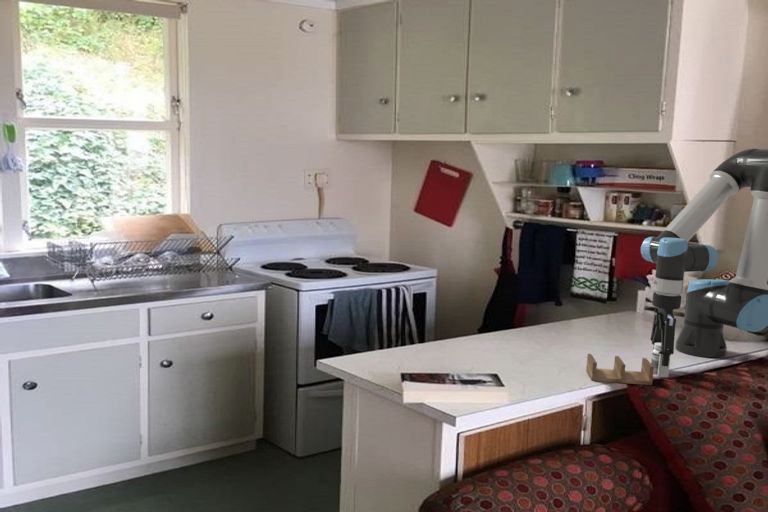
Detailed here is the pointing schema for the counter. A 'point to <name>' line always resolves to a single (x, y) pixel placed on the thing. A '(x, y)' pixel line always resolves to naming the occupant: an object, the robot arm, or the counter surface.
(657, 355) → the pill bottle
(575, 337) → the counter surface
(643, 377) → the rack
